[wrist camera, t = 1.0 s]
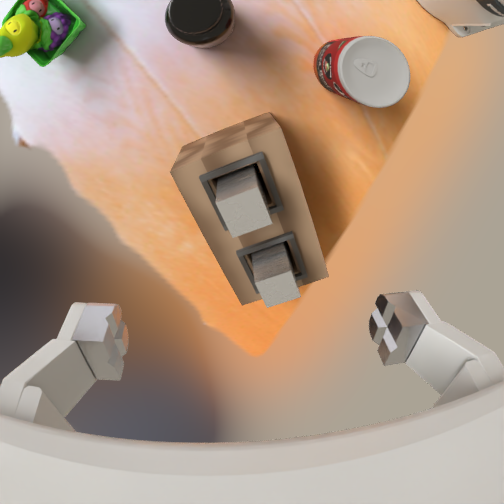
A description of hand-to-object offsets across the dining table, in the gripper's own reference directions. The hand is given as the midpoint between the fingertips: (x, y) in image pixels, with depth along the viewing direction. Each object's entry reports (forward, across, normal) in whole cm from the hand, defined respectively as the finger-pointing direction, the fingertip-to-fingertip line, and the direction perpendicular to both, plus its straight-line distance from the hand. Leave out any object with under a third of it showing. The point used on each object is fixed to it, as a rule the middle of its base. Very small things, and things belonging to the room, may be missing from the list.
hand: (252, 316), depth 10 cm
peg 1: (+28, -1, +6) cm, 29 cm away
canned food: (+34, -14, -8) cm, 38 cm away
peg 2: (+28, -5, +15) cm, 32 cm away
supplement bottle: (+34, +3, -13) cm, 37 cm away
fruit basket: (+35, +24, -16) cm, 45 cm away
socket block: (+34, -3, +10) cm, 36 cm away
